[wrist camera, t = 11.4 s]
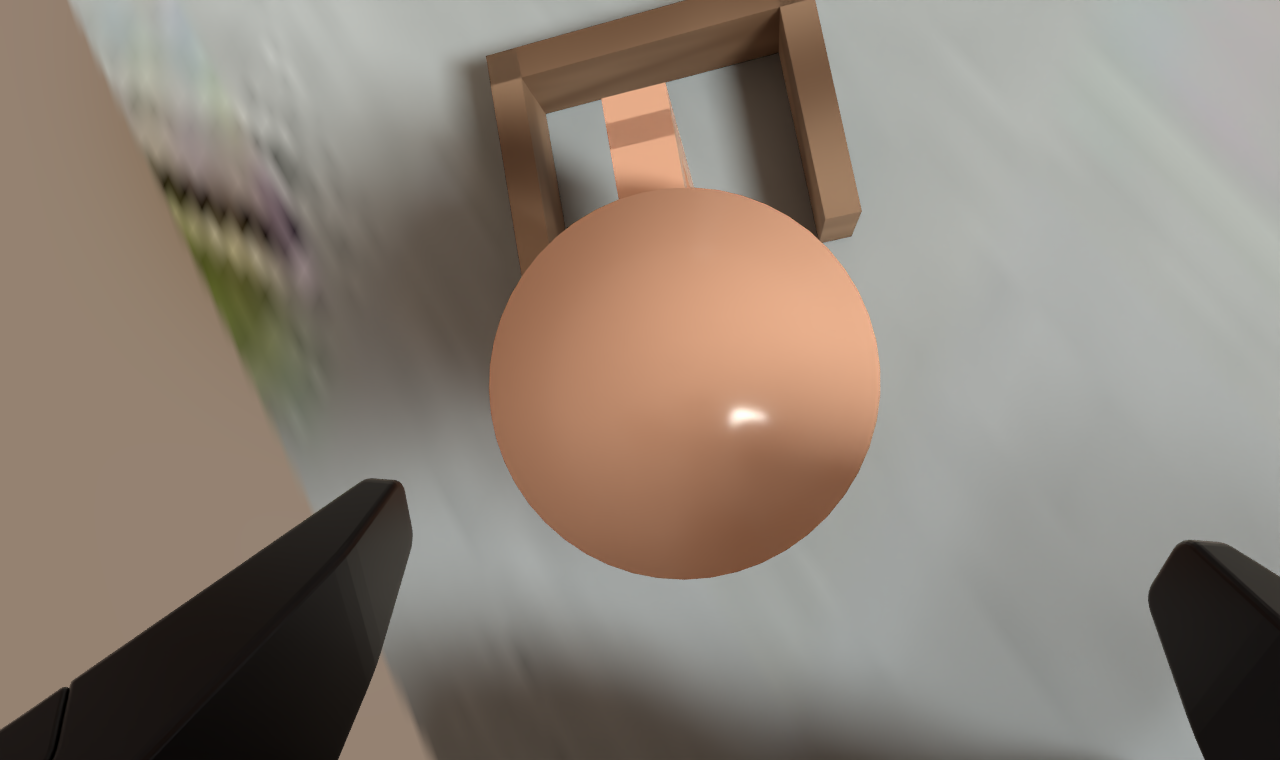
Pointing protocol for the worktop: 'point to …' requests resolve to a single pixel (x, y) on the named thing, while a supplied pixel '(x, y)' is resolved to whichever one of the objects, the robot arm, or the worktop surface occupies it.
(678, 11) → the jug cradle
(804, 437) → the jug
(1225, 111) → the worktop surface
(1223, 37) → the worktop surface
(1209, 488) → the worktop surface
